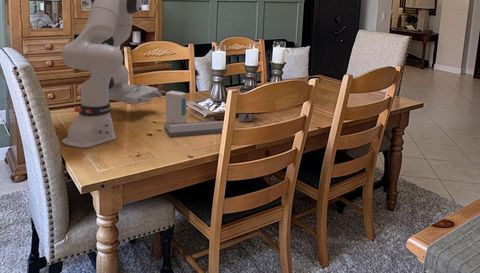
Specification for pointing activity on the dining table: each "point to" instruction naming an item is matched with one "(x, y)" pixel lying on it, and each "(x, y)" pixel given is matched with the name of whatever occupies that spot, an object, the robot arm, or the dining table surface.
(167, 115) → the carton
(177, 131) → the shelf
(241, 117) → the coffee box
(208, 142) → the dining table surface
